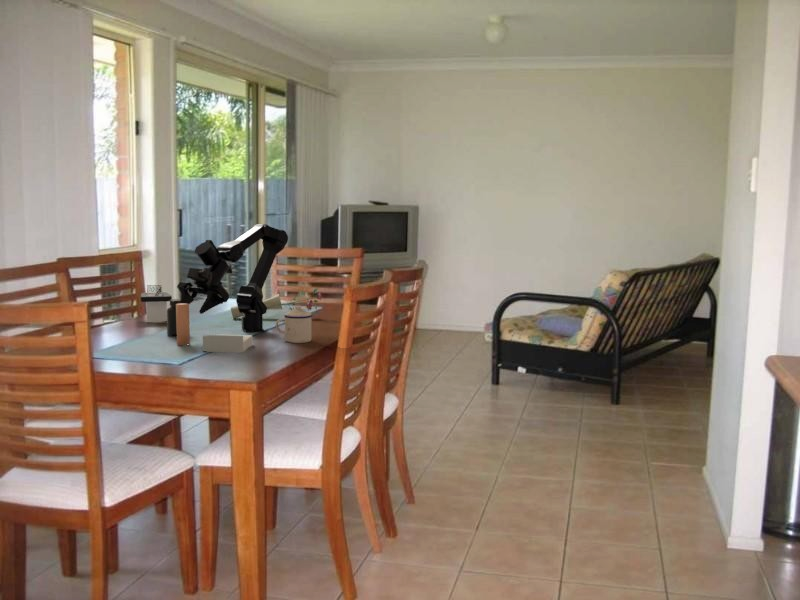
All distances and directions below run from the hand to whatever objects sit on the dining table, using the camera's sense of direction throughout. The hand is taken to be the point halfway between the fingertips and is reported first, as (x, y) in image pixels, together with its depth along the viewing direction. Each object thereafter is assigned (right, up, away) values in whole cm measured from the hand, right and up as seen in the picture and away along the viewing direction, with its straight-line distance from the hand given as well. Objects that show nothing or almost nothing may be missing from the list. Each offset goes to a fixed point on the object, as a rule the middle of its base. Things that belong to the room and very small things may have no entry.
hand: (189, 311), depth 259 cm
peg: (-2, -10, -1) cm, 11 cm away
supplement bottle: (-8, -8, +16) cm, 20 cm away
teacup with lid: (+32, -10, +8) cm, 35 cm away
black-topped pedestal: (-24, -4, +46) cm, 52 cm away
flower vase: (+19, -4, +55) cm, 58 cm away
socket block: (+14, -11, -5) cm, 19 cm away
